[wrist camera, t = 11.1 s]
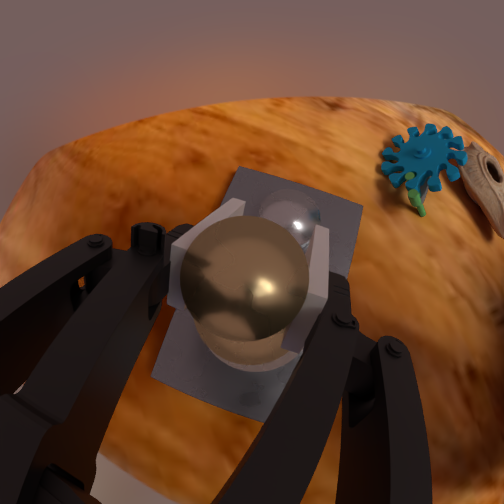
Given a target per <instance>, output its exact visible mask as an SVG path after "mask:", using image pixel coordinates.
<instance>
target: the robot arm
mask: <svg viewBox="0 0 504 504" xmlns="http://www.w3.org/2000/svg"><path fill="white" fill-rule="evenodd" d="M245 203H246V201H243V200H239V199H236V198H232V199H230V200H229V201H228V202H226V203H225V204H223V205H222V206H221V207H219V208H218V209H217V210H215V211H214V212H213V213H211V214H210V215H209V216H207V217H206V218H205V219H203V220H202V221H201V222H199V223H198V224H197V225H195V226H193V225H190V224H183V225H179V226H177V227H175V228H174V229H172V230H171V231H169V232H168V233H167V234H166V230H165V228H164V227H162V226H161V225H158V224H155V223H149V222H145V223H138V224H135V225H133V226H131V247H130V248H129V249H128V251H124V250H119V249H113V248H112V240H111V238H109V237H108V236H106V235H103V234H94V235H89V236H86V237H84V238H82V239H80V240H79V241H77V242H75V243H73V244H71V245H70V246H68V247H66V248H64V249H62V250H61V251H59V252H57V253H55V254H54V255H52V256H50V257H48V258H47V259H45V260H43V261H42V262H40V263H38V264H37V265H35V266H34V267H32V268H30V269H29V270H27V271H25V272H24V273H22V274H21V275H19V276H18V277H16V278H15V279H13V280H11V281H10V282H8V283H7V284H5V285H4V286H3V287H1V288H0V504H102V503H101V502H99V501H98V500H97V499H96V498H94V497H93V496H91V495H90V491H91V488H92V485H93V482H94V479H95V475H96V456H97V453H98V450H99V448H100V445H101V442H102V440H103V437H104V435H105V432H106V430H107V427H108V425H109V422H110V420H111V417H112V415H113V412H114V410H115V408H116V405H117V403H118V400H119V398H120V396H121V393H122V391H123V389H124V387H125V384H126V382H127V380H128V378H129V375H130V373H131V371H132V369H133V366H134V364H135V362H136V360H137V358H138V356H139V353H140V351H141V349H142V347H143V345H144V343H145V341H146V339H147V337H148V334H149V332H150V330H151V328H152V326H153V324H154V322H155V320H156V318H157V316H158V314H159V312H160V310H161V305H162V299H163V298H164V297H165V296H166V295H167V304H168V305H170V306H172V307H174V308H177V309H179V310H181V311H184V310H185V309H186V308H187V307H186V305H185V303H184V300H183V297H182V293H181V288H180V271H181V266H182V261H183V259H184V256H185V254H186V252H187V250H188V248H189V246H190V245H191V243H192V242H193V240H194V239H195V238H196V237H197V236H198V235H199V234H200V233H201V232H202V231H203V230H205V229H206V228H207V227H209V226H210V225H212V224H214V223H216V222H218V221H220V220H223V219H226V218H230V217H234V216H243V212H244V207H245ZM305 257H306V260H307V263H308V269H309V288H308V292H307V296H306V299H305V302H304V304H303V306H302V308H301V310H300V311H299V313H298V314H297V316H296V317H295V318H294V320H293V321H292V322H291V323H290V324H288V325H287V326H286V328H285V332H284V336H283V340H282V344H281V347H280V348H282V349H285V350H288V351H292V352H295V353H298V354H300V352H301V350H302V348H303V346H304V348H303V353H302V355H301V357H300V359H299V360H298V362H297V364H296V366H295V367H294V369H293V371H292V373H291V376H290V378H289V380H288V382H287V384H286V385H285V387H284V389H283V391H282V393H281V395H280V396H279V398H278V400H277V402H276V404H275V405H274V407H273V409H272V411H271V413H270V414H269V416H268V418H267V419H266V421H265V423H264V425H263V426H262V428H261V430H260V431H259V433H258V435H257V436H256V438H255V439H254V441H253V443H252V444H251V446H250V447H249V449H248V451H247V452H246V454H245V455H244V457H243V458H242V460H241V461H240V463H239V464H238V466H237V467H236V469H235V470H234V472H233V473H232V475H231V476H230V478H229V479H228V481H227V482H226V483H225V485H224V486H223V488H222V489H221V490H220V492H219V493H218V495H217V496H216V497H215V499H214V500H213V501H212V503H211V504H300V502H301V500H302V498H303V496H304V494H305V491H306V489H307V487H308V485H309V483H310V481H311V478H312V476H313V474H314V472H315V469H316V467H317V464H318V462H319V460H320V457H321V455H322V452H323V450H324V447H325V444H326V442H327V439H328V436H329V434H330V431H331V428H332V425H333V422H334V419H335V416H336V413H337V410H338V407H339V404H340V401H341V397H342V430H341V449H340V463H339V474H338V484H337V493H336V501H335V504H432V481H431V467H430V457H429V448H428V440H427V433H426V427H425V421H424V415H423V410H422V404H421V399H420V394H419V390H418V385H417V381H416V377H415V372H414V368H413V364H412V361H411V357H410V353H409V351H408V349H407V347H406V346H405V345H404V344H403V342H401V341H400V340H399V339H397V338H394V337H392V336H383V337H381V338H380V339H379V340H378V342H375V341H373V340H372V339H370V338H368V337H366V336H365V335H363V334H362V333H361V332H360V331H359V323H358V321H357V319H356V318H355V317H354V316H353V315H352V314H351V301H350V292H349V291H350V289H349V283H348V281H347V279H346V278H345V276H343V275H340V274H337V273H334V272H331V271H329V229H328V228H325V227H322V226H319V225H315V228H314V231H313V234H312V237H311V239H310V242H309V245H308V248H307V250H306V253H305ZM83 276H84V283H85V285H84V286H82V287H79V284H78V280H79V279H80V278H82V277H83ZM167 293H168V294H167ZM26 380H27V381H26ZM25 381H26V382H25ZM24 382H25V384H24V386H23V387H22V389H21V390H20V391H19V392H18V393H16V394H13V393H14V392H15V391H16V390H17V389H18V388H19V387H20V386H21V385H22V384H23V383H24Z"/></svg>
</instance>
